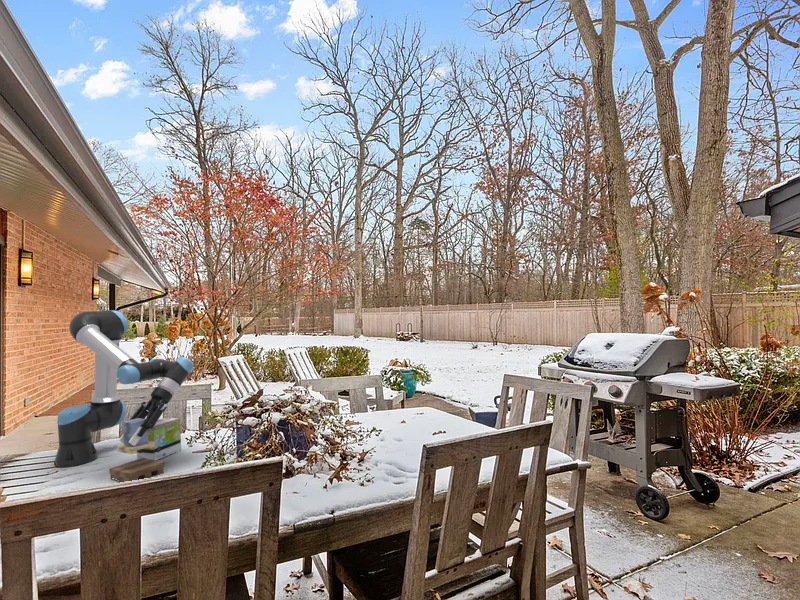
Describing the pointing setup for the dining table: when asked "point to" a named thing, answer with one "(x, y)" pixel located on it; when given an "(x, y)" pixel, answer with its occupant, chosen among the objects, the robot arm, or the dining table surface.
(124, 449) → the pallet
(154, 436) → the tea box
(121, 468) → the block
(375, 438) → the dining table surface
